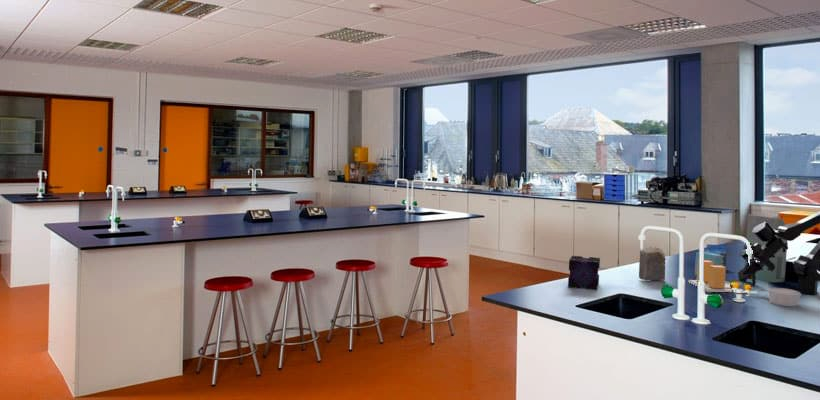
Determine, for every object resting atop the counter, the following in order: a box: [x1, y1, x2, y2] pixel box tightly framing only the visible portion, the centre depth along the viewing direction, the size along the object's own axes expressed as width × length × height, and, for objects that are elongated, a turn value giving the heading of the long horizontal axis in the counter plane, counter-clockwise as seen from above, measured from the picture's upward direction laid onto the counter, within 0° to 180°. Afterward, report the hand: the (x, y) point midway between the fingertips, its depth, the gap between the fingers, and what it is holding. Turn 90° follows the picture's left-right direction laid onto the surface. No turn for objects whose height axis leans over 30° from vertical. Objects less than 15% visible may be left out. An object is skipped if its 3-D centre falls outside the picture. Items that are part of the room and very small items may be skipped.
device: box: [743, 213, 789, 283], centre depth 294 cm, size 16×8×30 cm, turn 16°
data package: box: [694, 251, 723, 276], centre depth 293 cm, size 12×4×12 cm, turn 20°
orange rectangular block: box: [708, 265, 727, 288], centre depth 266 cm, size 5×4×9 cm
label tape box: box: [705, 244, 727, 268], centre depth 318 cm, size 9×4×12 cm, turn 81°
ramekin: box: [767, 287, 802, 307], centre depth 246 cm, size 11×11×5 cm
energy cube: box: [567, 255, 601, 291], centre depth 270 cm, size 12×12×12 cm
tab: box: [695, 260, 713, 282], centre depth 278 cm, size 5×4×9 cm
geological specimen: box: [638, 246, 667, 282], centre depth 285 cm, size 11×6×15 cm, turn 109°
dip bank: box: [687, 279, 732, 293], centre depth 273 cm, size 17×19×1 cm
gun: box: [737, 267, 757, 287], centre depth 285 cm, size 3×16×10 cm, turn 175°
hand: (742, 274), depth 266 cm, fingers closed
